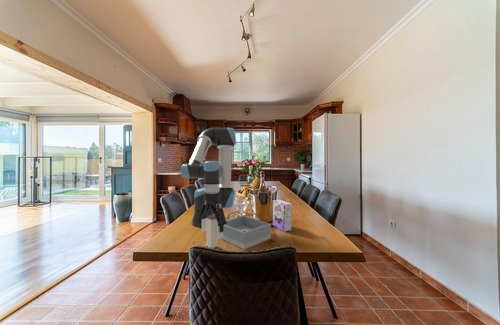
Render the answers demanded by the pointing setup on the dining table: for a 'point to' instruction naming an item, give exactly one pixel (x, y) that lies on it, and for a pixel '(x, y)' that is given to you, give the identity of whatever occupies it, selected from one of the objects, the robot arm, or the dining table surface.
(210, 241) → the connector
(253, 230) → the walled box
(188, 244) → the dining table surface
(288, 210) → the candy box
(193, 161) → the robot arm
